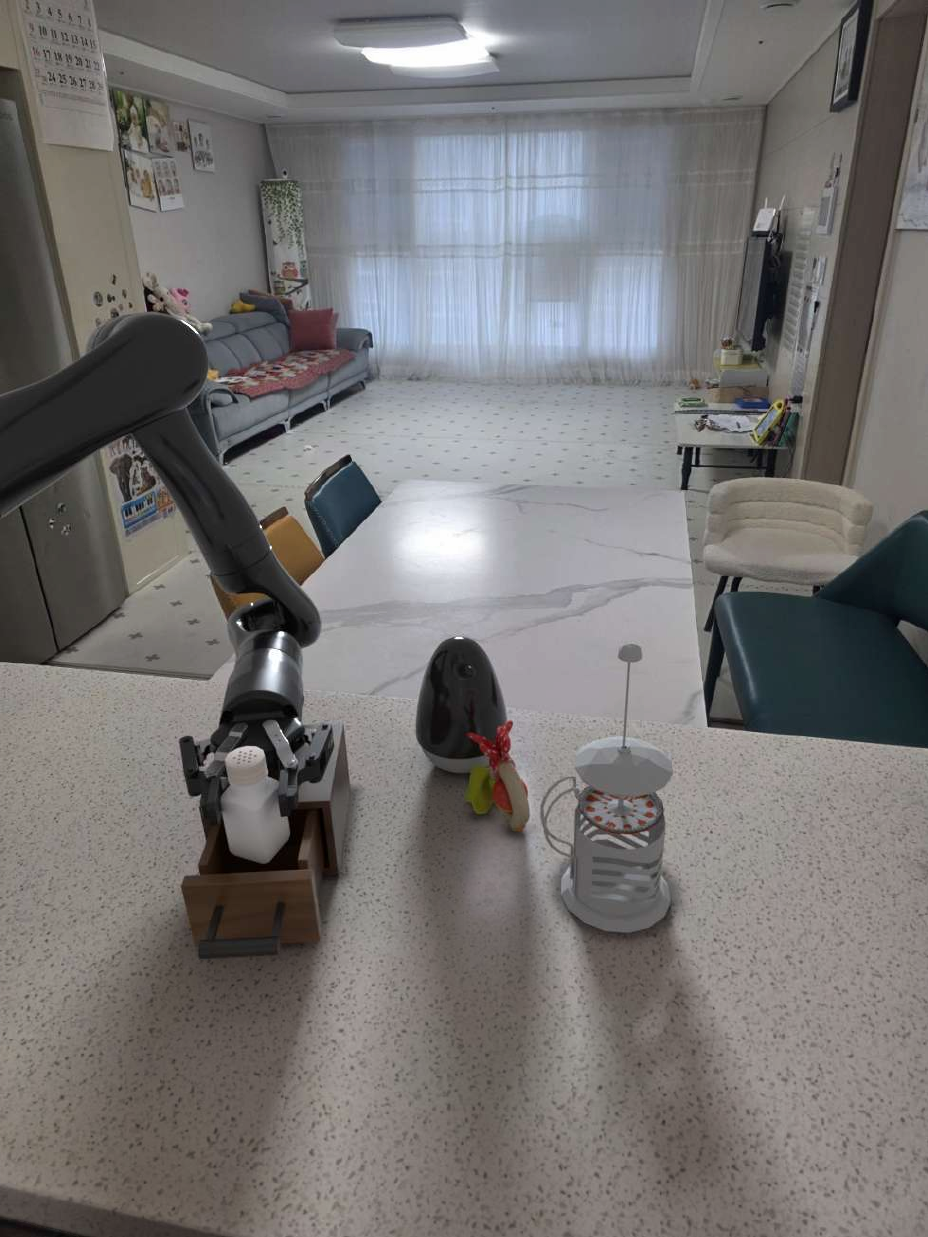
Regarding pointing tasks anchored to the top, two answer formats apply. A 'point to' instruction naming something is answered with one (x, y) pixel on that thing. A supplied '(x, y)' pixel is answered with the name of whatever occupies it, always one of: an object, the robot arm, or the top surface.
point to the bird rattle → (498, 780)
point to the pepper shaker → (252, 807)
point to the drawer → (257, 893)
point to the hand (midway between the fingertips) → (248, 811)
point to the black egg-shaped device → (458, 705)
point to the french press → (617, 830)
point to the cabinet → (324, 798)
